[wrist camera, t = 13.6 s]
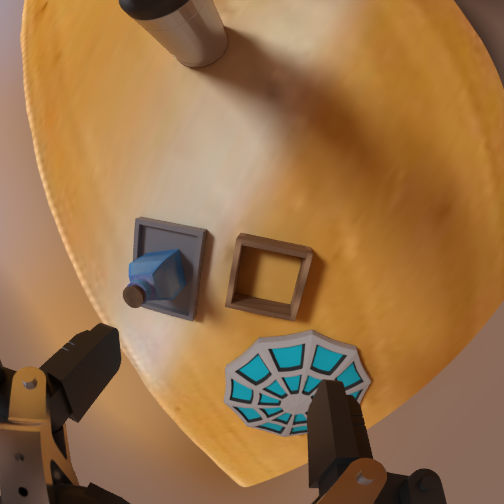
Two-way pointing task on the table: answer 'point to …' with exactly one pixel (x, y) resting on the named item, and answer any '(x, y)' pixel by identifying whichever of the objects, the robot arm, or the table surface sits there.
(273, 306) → the holder
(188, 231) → the tray
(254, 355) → the decorative platform
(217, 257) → the table surface
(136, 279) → the perfume bottle
